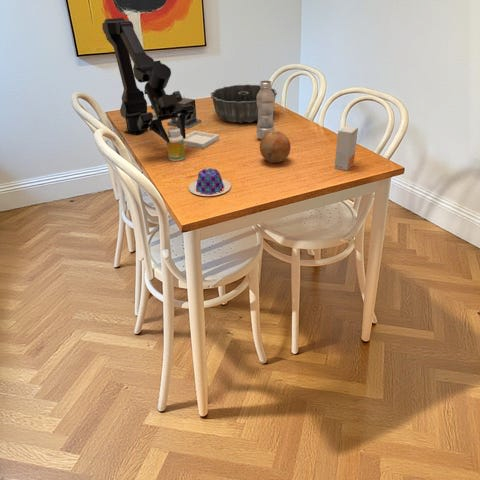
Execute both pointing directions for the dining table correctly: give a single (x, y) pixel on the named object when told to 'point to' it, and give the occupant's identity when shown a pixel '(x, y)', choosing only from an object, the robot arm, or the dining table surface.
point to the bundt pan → (237, 102)
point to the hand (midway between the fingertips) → (176, 140)
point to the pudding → (209, 183)
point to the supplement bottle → (175, 145)
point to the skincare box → (346, 147)
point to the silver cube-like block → (188, 123)
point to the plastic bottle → (265, 109)
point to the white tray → (200, 139)
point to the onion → (275, 146)
